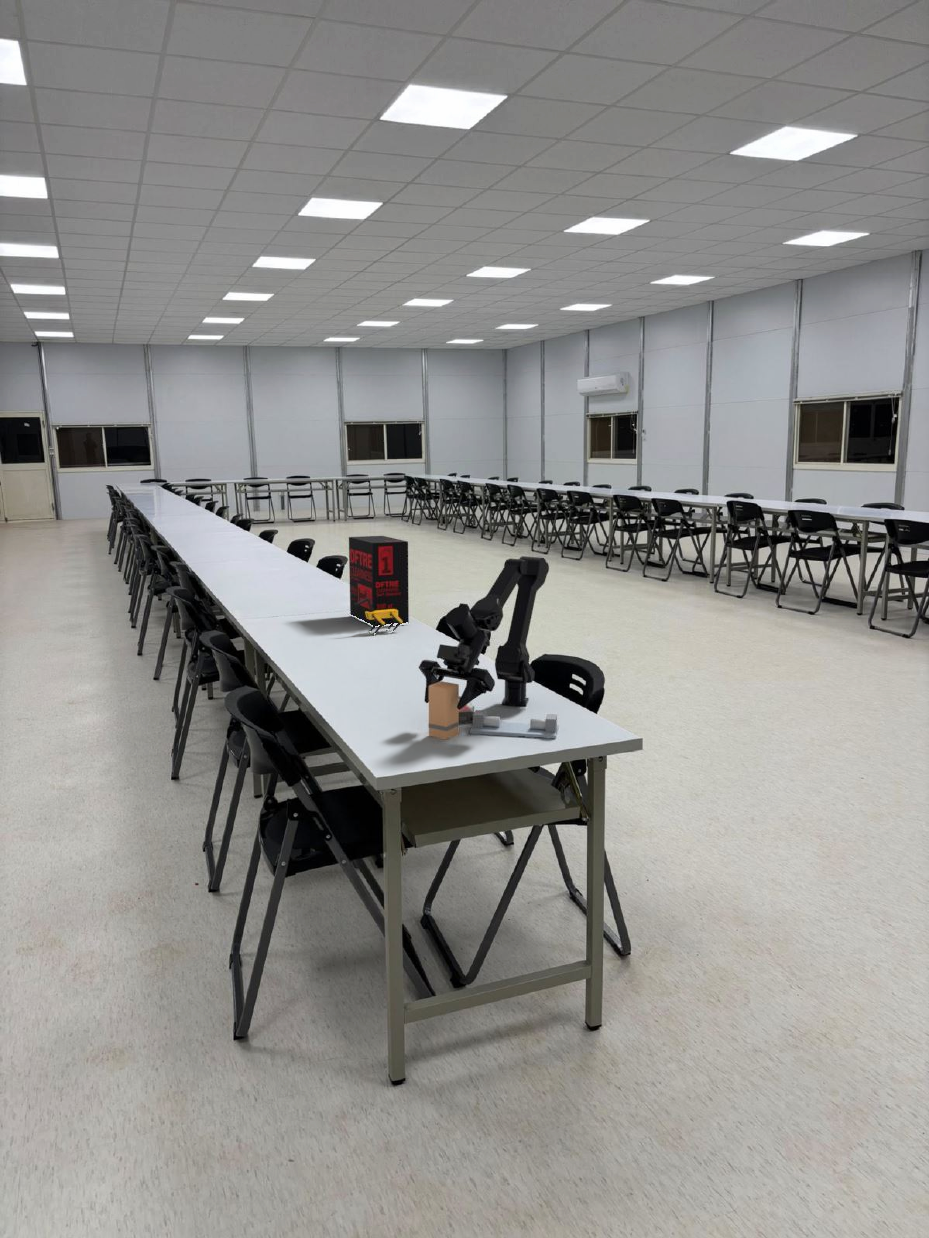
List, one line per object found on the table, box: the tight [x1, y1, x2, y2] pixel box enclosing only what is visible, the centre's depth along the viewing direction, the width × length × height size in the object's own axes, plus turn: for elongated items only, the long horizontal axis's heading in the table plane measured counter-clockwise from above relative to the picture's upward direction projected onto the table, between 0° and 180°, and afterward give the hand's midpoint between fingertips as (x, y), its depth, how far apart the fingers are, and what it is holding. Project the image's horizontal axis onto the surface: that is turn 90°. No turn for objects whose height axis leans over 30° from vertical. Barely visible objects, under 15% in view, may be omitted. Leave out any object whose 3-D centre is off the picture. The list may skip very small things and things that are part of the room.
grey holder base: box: [469, 709, 559, 739], centre depth 209 cm, size 8×20×4 cm, turn 79°
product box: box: [348, 535, 410, 626], centre depth 344 cm, size 26×14×32 cm, turn 27°
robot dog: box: [354, 598, 403, 634], centre depth 321 cm, size 6×18×13 cm, turn 120°
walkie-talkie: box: [459, 695, 475, 724], centre depth 224 cm, size 9×4×20 cm
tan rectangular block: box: [428, 680, 460, 740], centre depth 206 cm, size 5×5×12 cm
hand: (441, 705), depth 205 cm, fingers open, 9 cm apart
